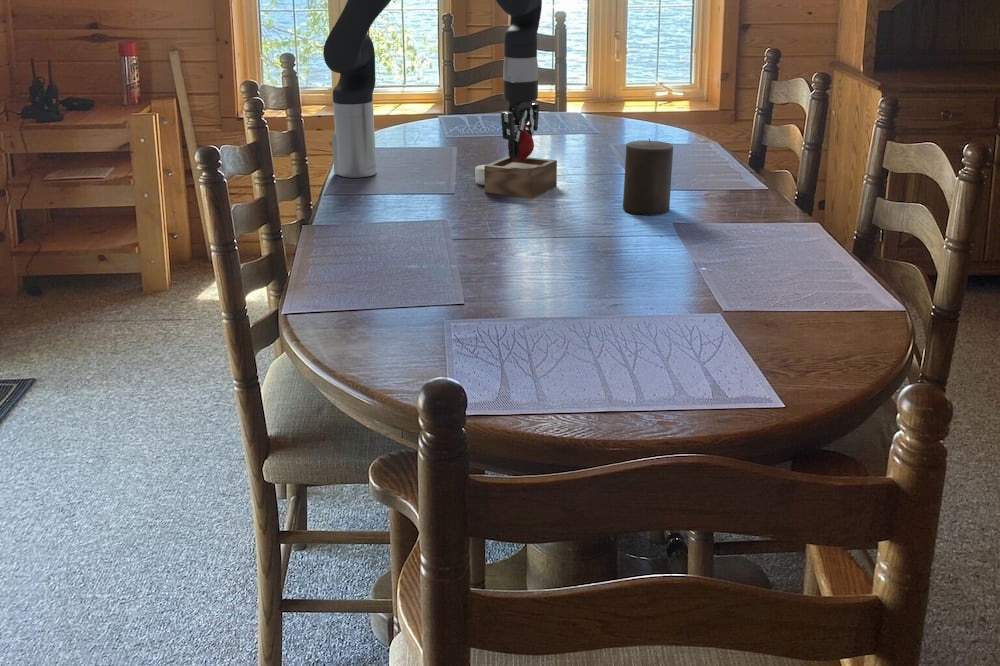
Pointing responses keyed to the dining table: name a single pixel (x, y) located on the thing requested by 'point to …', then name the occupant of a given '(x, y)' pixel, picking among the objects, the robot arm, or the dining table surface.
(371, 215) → the dining table surface
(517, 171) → the brown open square tray
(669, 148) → the pillar candle
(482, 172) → the white rounded pebble
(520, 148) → the onion
